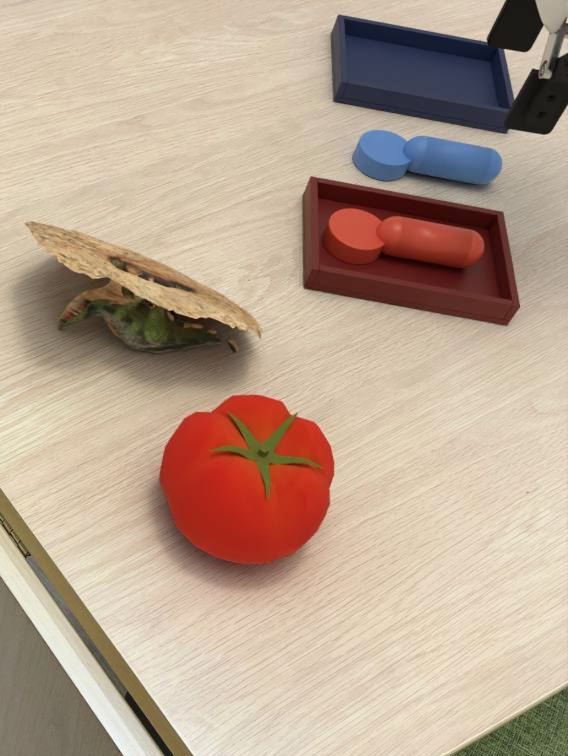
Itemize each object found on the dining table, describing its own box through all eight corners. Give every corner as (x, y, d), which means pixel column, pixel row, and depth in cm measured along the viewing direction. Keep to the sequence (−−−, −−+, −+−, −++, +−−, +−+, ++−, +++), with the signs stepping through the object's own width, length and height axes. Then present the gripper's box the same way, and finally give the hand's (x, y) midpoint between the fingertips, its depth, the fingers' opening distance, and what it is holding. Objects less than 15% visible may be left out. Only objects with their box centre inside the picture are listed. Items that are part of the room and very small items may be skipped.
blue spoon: (488, 166, 88) (505, 137, 86) (494, 201, 86) (512, 172, 83) (351, 141, 88) (364, 110, 86) (353, 175, 86) (366, 145, 83)
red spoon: (470, 246, 81) (488, 217, 79) (476, 287, 79) (495, 258, 76) (321, 219, 81) (334, 188, 79) (322, 259, 79) (336, 228, 76)
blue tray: (492, 64, 97) (503, 44, 96) (506, 133, 91) (517, 114, 90) (330, 33, 97) (338, 13, 95) (333, 101, 91) (341, 81, 89)
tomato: (181, 596, 61) (213, 530, 55) (131, 455, 67) (155, 380, 60) (338, 570, 63) (386, 504, 57) (276, 436, 69) (314, 362, 63)
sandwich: (175, 326, 82) (225, 245, 78) (230, 432, 72) (291, 346, 68) (-23, 256, 75) (20, 162, 71) (8, 363, 65) (60, 262, 60)
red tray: (491, 230, 84) (503, 211, 82) (507, 325, 77) (520, 306, 76) (302, 195, 83) (310, 175, 82) (303, 288, 77) (312, 268, 76)
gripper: (779, -108, 51) (589, 173, 65) (700, -246, 60) (549, 27, 75) (635, -132, 51) (476, 155, 65) (578, -267, 60) (450, 11, 75)
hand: (515, 86), depth 70 cm, fingers open, 9 cm apart
